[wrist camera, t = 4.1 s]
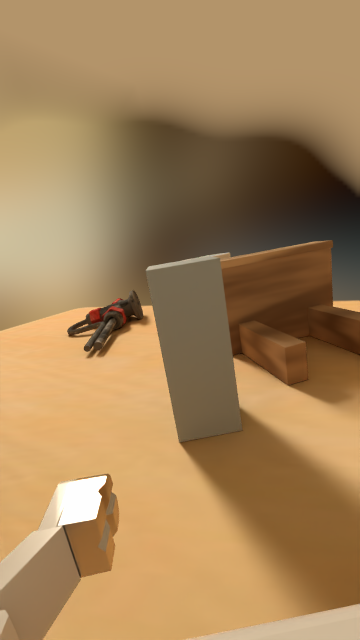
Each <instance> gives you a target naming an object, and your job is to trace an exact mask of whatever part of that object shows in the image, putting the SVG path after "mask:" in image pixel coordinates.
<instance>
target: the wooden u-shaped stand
mask: <svg viewBox="0 0 360 640" xmlns="http://www.w3.org/2000/svg"><path fill="white" fill-rule="evenodd" d="M332 247H333V241H331V240H330V241H319V242H311V243H306V244H300V245H295V246H290V247H284V248H279V249H273V250H268V251H263V252H257V253H252V254H247V255H241V256H237V257H231V258H225V259H220V262H221V270H222V278H223V285H224V293H225V301H226V308H227V316H228V324H229V332H230V339H231V347H232V355H235V354H239V353H243V354H244V355H246V356H247V357H249V358H250V359H252V360H253V361H254V362H256V363H257V364H259V365H260V366H261V367H263V368H264V369H266V370H267V371H269V372H270V373H271V374H273V375H274V376H276V377H277V378H278V379H280V380H281V381H283V382H284V383H285V384H287V385H290V384H294V383H297V382H301V381H304V380H308V370H307V354H306V342H304V341H302V340H300V339H297V338H301V337H305V336H309V335H310V336H312V337H315V338H317V339H320V340H323V341H325V342H328V343H331V344H333V345H336V346H338V347H341V348H344V349H346V350H349V351H351V352H354V353H357V354H359V355H360V312H355V311H351V310H346V309H341V308H337V307H333V297H332V268H331V248H332Z"/></svg>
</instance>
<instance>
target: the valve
mask: <svg viewBox="0 0 360 640" xmlns="http://www.w3.org/2000/svg"><path fill="white" fill-rule="evenodd" d="M129 294H130V295H129V298H128V299H127V300H123V299H119V298H118V299H117V300H116V301H114V302H113V303H112V304H111V305H109V306H107V307H104V308H98V309H94V310H92V311H90V312H89V314H87V315H86V319H85V320H83V321H81V322H78V323H76V324H74V325H73V326H71V327H70V328H69V329H68V330H67V332H68V334H70V335H74V334H79V333H83V332H86V331H89V330H92V329H95V328H98V329H97V330H96V331H95V333H94V334H93V335H92V337H91V338H90V339H89V341H88V342H87V344H86V345H85V346H84V350H85V351H86V352H88V351H90V349H91V348H92V346H93V347H94V349H95V350H100V349H102V347H103V345H104V343H105V342H106V340H107V338H108V336H109V335H110V333H111V331H112V330H115V329H119V328H121V327H122V326H123V325H124V324H125V322H126V317H129V316H133V315H134V316H135V317H137V318H138V319H142V318H143V311H142V307H141V304H140V301H139V299H138V296H137V294H136V293H135V291H130V293H129ZM85 324H88V326H85V327H82V328H79V327H81V326H83V325H85ZM77 328H78V329H77Z"/></svg>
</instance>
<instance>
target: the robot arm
mask: <svg viewBox="0 0 360 640" xmlns="http://www.w3.org/2000/svg"><path fill="white" fill-rule="evenodd" d="M112 486H113V482H112V479H111V476H110V475H109V474H103V475H97V476H91V477H85V478H79V479H74V480H68V481H62V482H61V483H59V484H58V486H57V488H56V490H55V492H54V494H53V497H52V499H51V501H50V503H49V506H48V508H47V510H46V513H45V515H44V517H43V519H42V522H41V524H40V526H39V528H38V531H33V532H31V533H30V534H29V535H28V536H27V537H26V538H25V539H24V540H23V541H22V542H21V543H20V544H19V545H18V546H17V547H16V548H15V549H14V550H13V551H12V552H11V553H10V554H9V555H8V556H6V557H5V558H4V559H3V560H2V561H1V562H0V640H43V638H44V637H45V635H46V633H47V632H48V630H49V629H50V627H51V626H52V624H53V622H54V621H55V619H56V618H57V616H58V615H59V613H60V611H61V610H62V608H63V607H64V605H65V604H66V602H67V601H68V599H69V597H70V596H71V594H72V593H73V591H74V590H75V588H76V586H77V585H78V583H79V582H80V580H81V579H80V578H81V577H86V576H90V575H94V574H98V573H103V572H107V571H111V569H112V563H113V557H114V550H115V543H114V540H113V536H114V535H115V533H116V532H117V531H118V524H119V507H118V501H117V497H116V495H115V494H114V493H112V492H111V491H112ZM185 640H360V604H356V605H351V606H347V607H342V608H337V609H332V610H327V611H322V612H317V613H313V614H308V615H303V616H298V617H293V618H288V619H284V620H279V621H274V622H269V623H264V624H259V625H254V626H249V627H244V628H239V629H234V630H229V631H224V632H219V633H215V634H210V635H205V636H200V637H195V638H190V639H185Z"/></svg>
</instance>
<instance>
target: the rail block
mask: <svg viewBox="0 0 360 640" xmlns="http://www.w3.org/2000/svg"><path fill="white" fill-rule="evenodd" d="M146 275H147V280H148V285H149V290H150V295H151V300H152V306H153V311H154V316H155V321H156V326H157V331H158V336H159V341H160V347H161V352H162V357H163V362H164V367H165V372H166V377H167V382H168V387H169V393H170V398H171V403H172V408H173V413H174V418H175V423H176V428H177V433H178V439H179V442H184V441H189V440H195V439H200V438H205V437H210V436H216V435H221V434H226V433H232V432H237V431H242V424H241V416H240V408H239V401H238V393H237V385H236V378H235V370H234V362H233V355H232V347H231V339H230V332H229V324H228V316H227V308H226V301H225V293H224V285H223V278H222V270H221V262H220V258H217V257H209V256H207V257H201V258H195V259H190V260H184V261H179V262H173V263H167V264H161V265H155V266H150V267H148V268H147V270H146Z"/></svg>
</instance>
